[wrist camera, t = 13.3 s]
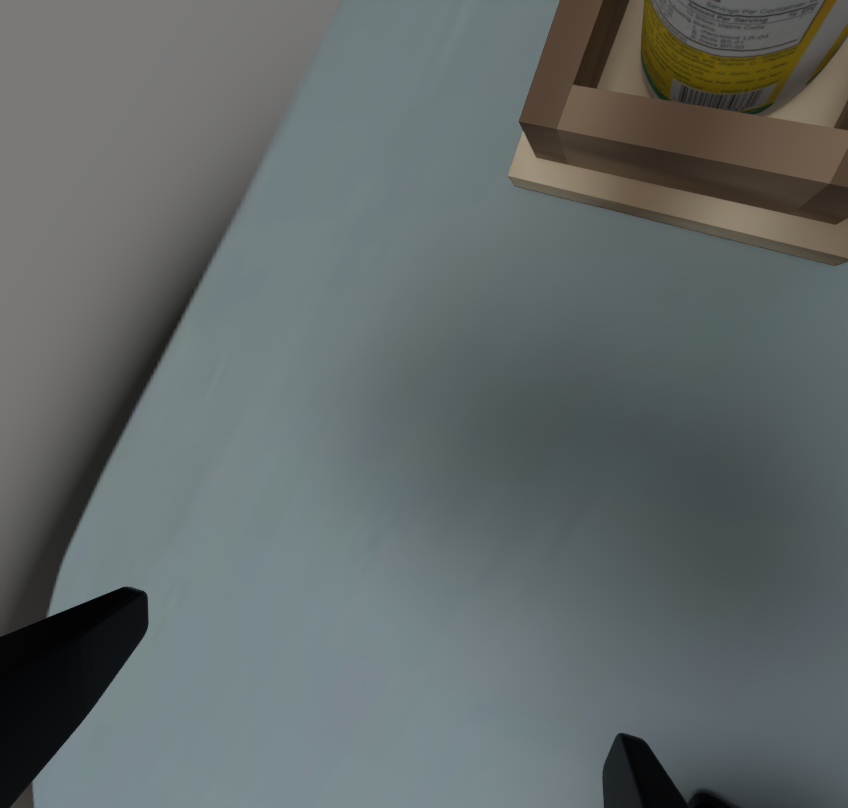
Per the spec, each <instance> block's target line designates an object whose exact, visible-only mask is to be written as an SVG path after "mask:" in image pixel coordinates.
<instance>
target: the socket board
mask: <svg viewBox="0 0 848 808" xmlns="http://www.w3.org/2000/svg"><path fill="white" fill-rule="evenodd" d="M643 9H644V0H560V2H559V5H558V8H557V10H556V13H555V16H554V19H553V22H552V25H551V28H550V31H549V34H548V37H547V40H546V43H545V46H544V49H543V52H542V55H541V58H540V61H539V63H538V66H537V69H536V72H535V75H534V78H533V81H532V84H531V87H530V90H529V93H528V96H527V99H526V102H525V105H524V108H523V111H522V114H521V117H520V119H519V123H520V125H521V127H522V129H523V133H522V136H521V139H520V142H519V145H518V148H517V151H516V153H515V156H514V159H513V162H512V165H511V168H510V171H509V174H508V177H509V178H510V180H511V181H512V182H513V184H514V185H515V186H518V187H522V188H526V189H530V190H534V191H538V192H542V193H546V194H550V195H554V196H558V197H562V198H566V199H570V200H574V201H578V202H582V203H586V204H590V205H594V206H598V207H602V208H606V209H610V210H614V211H618V212H622V213H626V214H630V215H634V216H638V217H642V218H646V219H650V220H654V221H658V222H662V223H666V224H670V225H674V226H678V227H682V228H686V229H690V230H694V231H698V232H702V233H706V234H710V235H714V236H718V237H722V238H726V239H730V240H734V241H738V242H742V243H747V244H751V245H755V246H759V247H763V248H767V249H771V250H775V251H779V252H783V253H787V254H791V255H795V256H799V257H803V258H807V259H811V260H815V261H819V262H823V263H827V264H831V265H835V266H836V265H839V264H842V263H844V262H847V261H848V37H847V39H846V40H845V41H844V43H843V44H842V46H841V47H840V49H839V50H838V51H837V53H836V54H835V55H834V56H833V58H832V59H831V60H830V62H829V63H828V64H827V65H826V67H825V68H824V69H823V70H822V72H821V73H820V74H819V75H818V76H817V77H816V78H815V79H814V80H813V81H812V82H811V83H810V84H809V85H808V86H807V87H806V88H805V89H804V90H802V91H801V92H800V93H799V94H798V95H796V96H795V97H794V98H793V99H791V100H790V101H788V102H787V103H785V104H784V105H782V106H781V107H779V108H777V109H775V110H773V111H771V112H769V113H767V114H765V115H763V116H758V115H752V114H746V113H740V112H734V111H728V110H722V109H716V108H710V107H704V106H698V105H692V104H686V103H680V102H674V101H668V100H662V99H656V98H653V96H652V94H651V93H650V91H649V89H648V87H647V85H646V82H645V79H644V76H643V73H642V67H641V35H642V21H643Z"/></svg>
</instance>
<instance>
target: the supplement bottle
mask: <svg viewBox="0 0 848 808" xmlns="http://www.w3.org/2000/svg"><path fill="white" fill-rule="evenodd" d="M847 37H848V0H644V9H643V21H642V35H641V67H642V73H643V76H644V79H645V82H646V85H647V87H648V89H649V91H650V93H651V94H652V96H653V98H656V99H662V100H668V101H674V102H680V103H686V104H692V105H698V106H704V107H710V108H716V109H722V110H728V111H734V112H740V113H746V114H752V115H758V116H763V115H765V114H767V113H769V112H771V111H773V110H775V109H777V108H779V107H781V106H782V105H784V104H785V103H787V102H788V101H790V100H791V99H793V98H794V97H795V96H796V95H798V94H799V93H800V92H801V91H802V90H804V89H805V88H806V87H807V86H808V85H809V84H810V83H811V82H812V81H813V80H814V79H815V78H816V77H817V76H818V75H819V74H820V73H821V72H822V70H823V69H824V68H825V67H826V65H827V64H828V63H829V62H830V60H831V59H832V58H833V56H834V55H835V54H836V53H837V51H838V50H839V49H840V47H841V46H842V44H843V43H844V41H845V40H846V39H847Z"/></svg>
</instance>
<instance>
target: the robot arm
mask: <svg viewBox="0 0 848 808" xmlns="http://www.w3.org/2000/svg"><path fill="white" fill-rule="evenodd" d="M147 628H148V597H147V594H146V592H144V591H142V590H139V589H135V588H132V587H122V588H119V589H117V590H114V591H112V592H110V593H107V594H105V595H102V596H100V597H97V598H95V599H92V600H90V601H87V602H85V603H82V604H80V605H78V606H75V607H73V608H70V609H68V610H65V611H63V612H60V613H58V614H55V615H53V616H50V617H48V618H46V619H43V620H41V621H38V622H36V623H33V624H31V625H28V626H26V627H23V628H21V629H18V630H16V631H14V632H11V633H9V634H6V635H4V636H1V637H0V808H10V807H11V806H12V805H13V803H14V802H15V801H16V800H17V799H18V797H19V796H20V795H21V794H22V793H23V792H24V790H25V789H26V788H27V787H28V786H29V784H30V783H31V782H32V781H33V780H34V779H35V777H36V776H37V775H38V774H39V773H40V771H41V770H42V769H43V768H44V767H45V765H46V764H47V763H48V762H49V761H50V760H51V758H52V757H53V756H54V755H55V754H56V752H57V751H58V750H59V749H60V748H61V747H62V745H63V744H64V743H65V742H66V741H67V739H68V738H69V737H70V736H71V735H72V733H73V732H74V731H75V730H76V729H77V727H78V726H79V725H80V724H81V723H82V721H83V720H84V719H85V718H86V716H87V715H88V714H89V712H90V711H91V710H92V708H93V707H94V706H95V704H96V703H97V702H98V700H99V699H100V698H101V696H102V695H103V693H104V692H105V690H106V689H107V688H108V686H109V685H110V683H111V682H112V681H113V679H114V678H115V676H116V675H117V674H118V672H119V671H120V669H121V668H122V667H123V665H124V664H125V662H126V661H127V660H128V658H129V657H130V655H131V654H132V653H133V651H134V650H135V648H136V647H137V646H138V644H139V643H140V641H141V640H142V638H143V637H144V635H145V633H146V631H147ZM603 798H604V808H731V807H730V806H728V805H726V804H725V803H723V802H721V801H720V800H718V799H717V798H715V797H713V796H711V795H709V794H704V793H701V794H697V795H696V796H694V797H693V799H692V801H691V802H690V804H689V805H688V804H687V802H686V801H685V799H684V798H683V796H682V795H681V793H680V792H679V790H678V789H677V787H676V786H675V784H674V783H673V781H672V780H671V778H670V777H669V775H668V774H667V772H666V771H665V769H664V768H663V766H662V765H661V763H660V762H659V760H658V759H657V758H656V756H655V755H654V753H653V752H652V750H651V749H650V747H649V746H648V744H647V743H646V742H645V741H644V740H643V739H641V738H638V737H635V736H632V735H628V734H625V733H619V734H618V735H617V736H616V737H615V740H614V742H613V744H612V747H611V749H610V752H609V754H608V756H607V759H606V761H605V764H604V768H603Z"/></svg>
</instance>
